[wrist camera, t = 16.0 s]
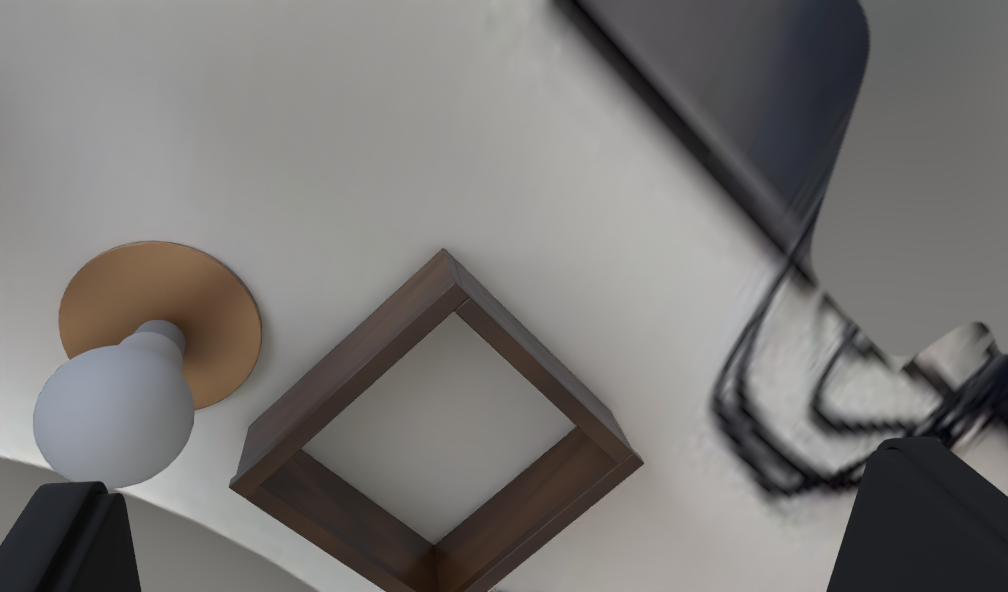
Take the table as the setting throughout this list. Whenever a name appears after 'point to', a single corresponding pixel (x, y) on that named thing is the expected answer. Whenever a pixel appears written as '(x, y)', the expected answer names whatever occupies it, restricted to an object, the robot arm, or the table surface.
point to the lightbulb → (118, 409)
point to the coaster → (167, 311)
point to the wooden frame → (371, 530)
